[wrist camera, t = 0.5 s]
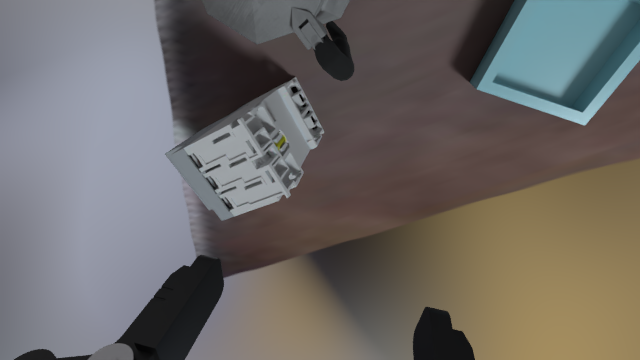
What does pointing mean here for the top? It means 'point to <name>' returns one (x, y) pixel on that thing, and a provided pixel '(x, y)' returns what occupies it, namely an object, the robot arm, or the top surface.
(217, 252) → the top surface
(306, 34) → the coffeepot
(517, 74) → the tray
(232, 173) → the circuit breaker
